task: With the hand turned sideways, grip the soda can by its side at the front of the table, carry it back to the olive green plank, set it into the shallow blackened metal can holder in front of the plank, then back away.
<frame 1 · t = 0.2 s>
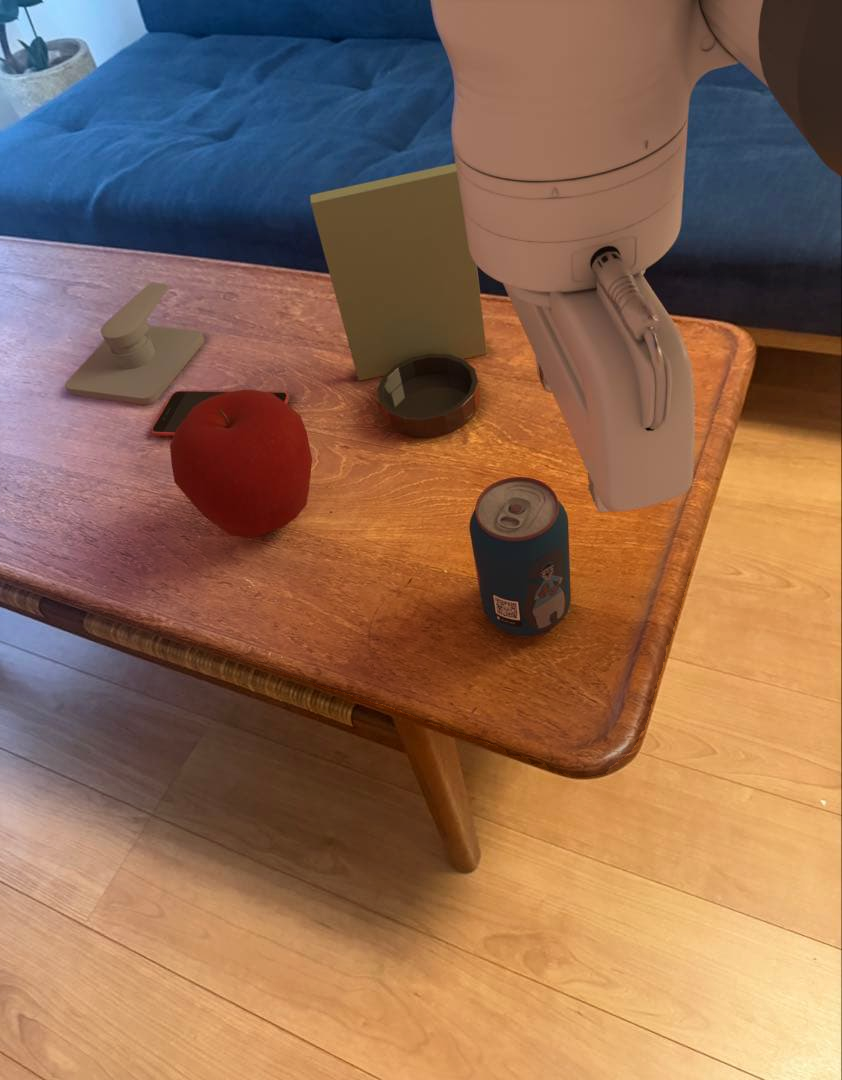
hand: (581, 437, 44), 23 cm above the table, tool pointing down, fingers open, 8 cm apart
soda can: (526, 609, 65), on the table
olive green plank: (421, 363, 88), on the table
apple: (269, 517, 76), on the table
holder: (430, 404, 83), on the table
smartphone: (222, 417, 87), on the table
shower valve: (144, 360, 97), on the table
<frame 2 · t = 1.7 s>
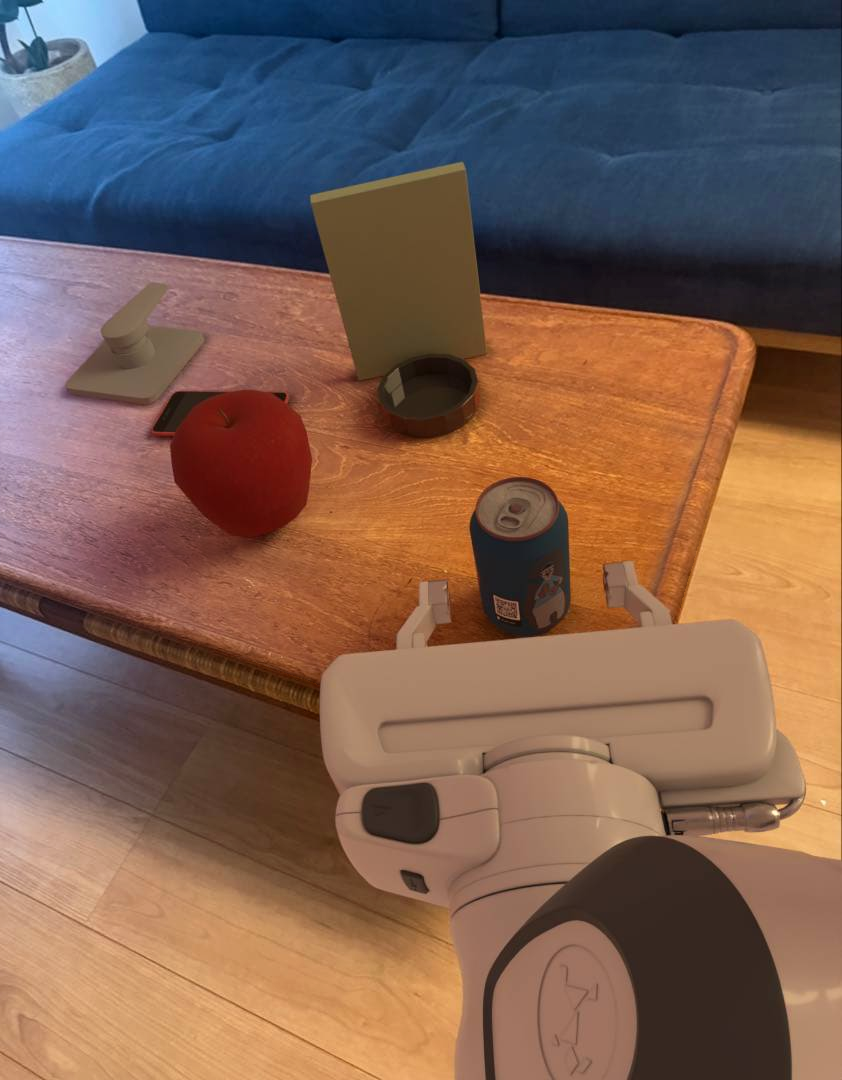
hand: (524, 578, 42), 20 cm above the table, tool horizontal, fingers open, 8 cm apart
nothing on the table moved.
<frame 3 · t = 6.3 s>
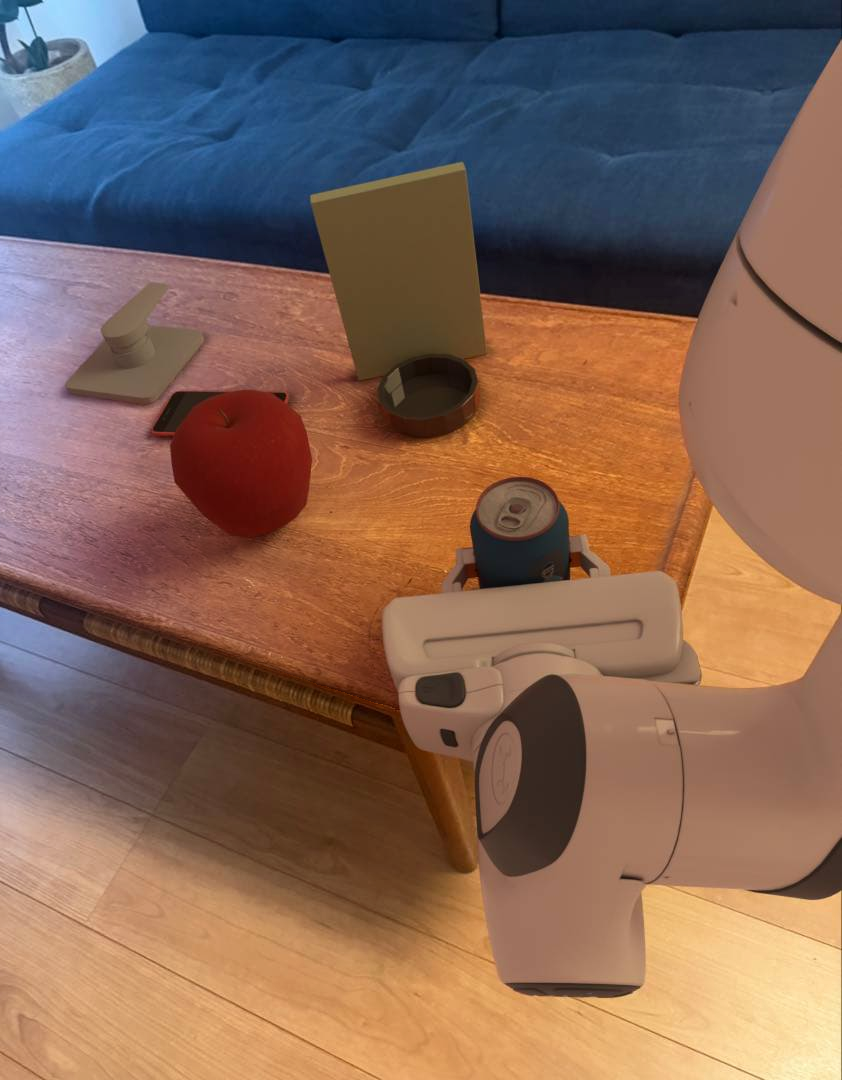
hand: (520, 546, 61), 7 cm above the table, tool horizontal, fingers closed on soda can, 7 cm apart
soda can: (527, 609, 65), on the table, touching gripper
everything else where it was.
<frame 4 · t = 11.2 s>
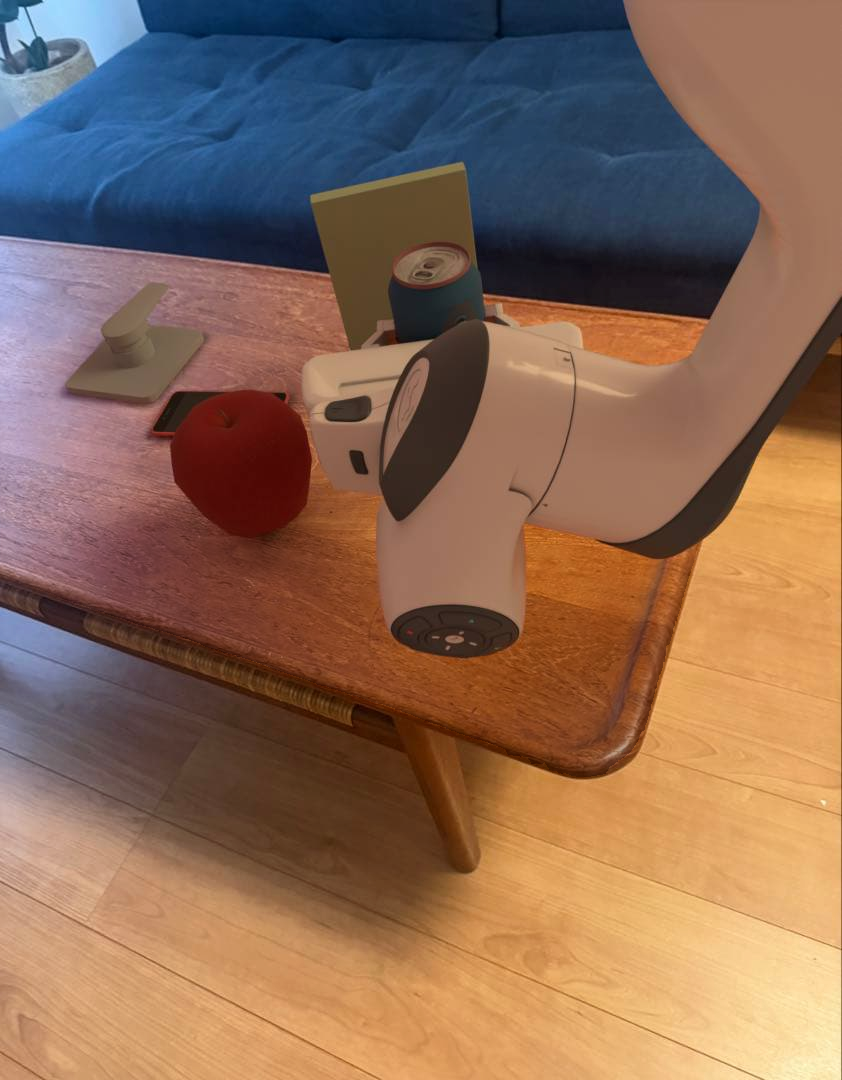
hand: (439, 319, 63), 17 cm above the table, tool horizontal, fingers closed on soda can, 7 cm apart
soda can: (451, 394, 68), point 10 cm above the table, touching gripper
everything else where it was.
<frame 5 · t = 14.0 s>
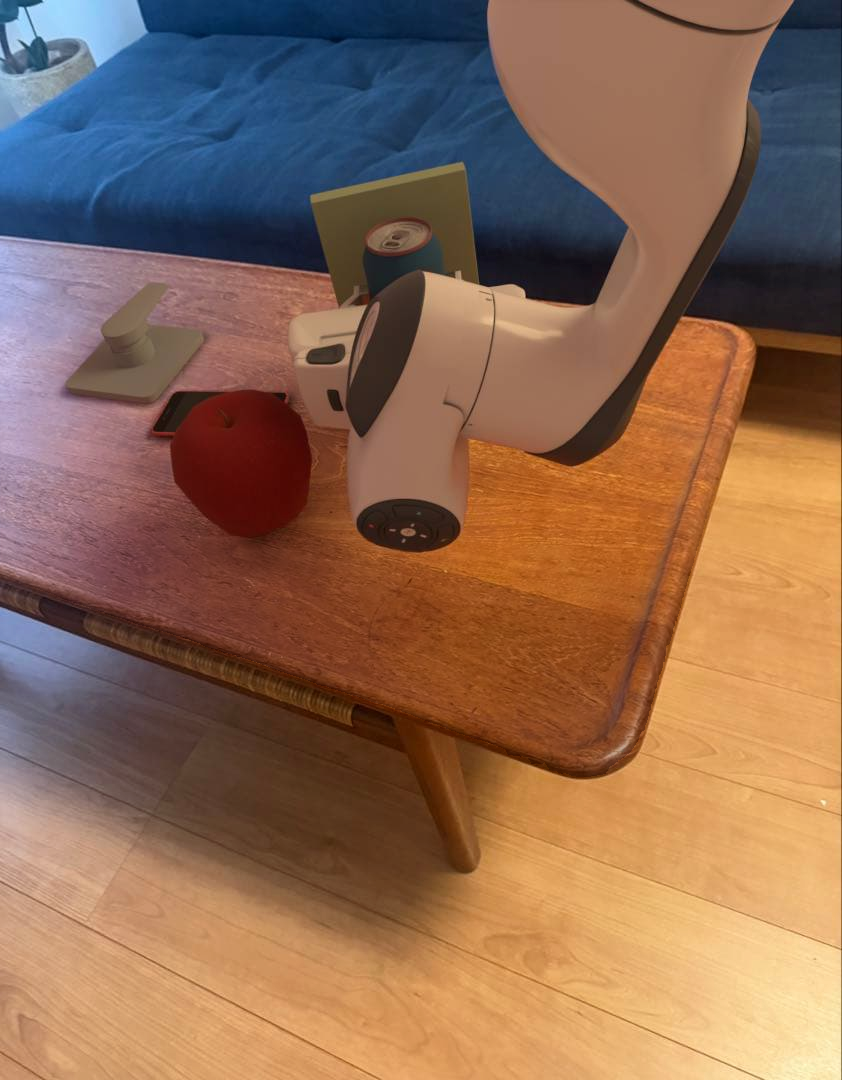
hand: (408, 285, 74), 13 cm above the table, tool horizontal, fingers closed on soda can, 7 cm apart
soda can: (419, 352, 78), point 7 cm above the table, touching gripper
everything else where it was.
when the fingers open (7 cm above the table, at t = 16.3 s): soda can stays where it is, resting on holder.
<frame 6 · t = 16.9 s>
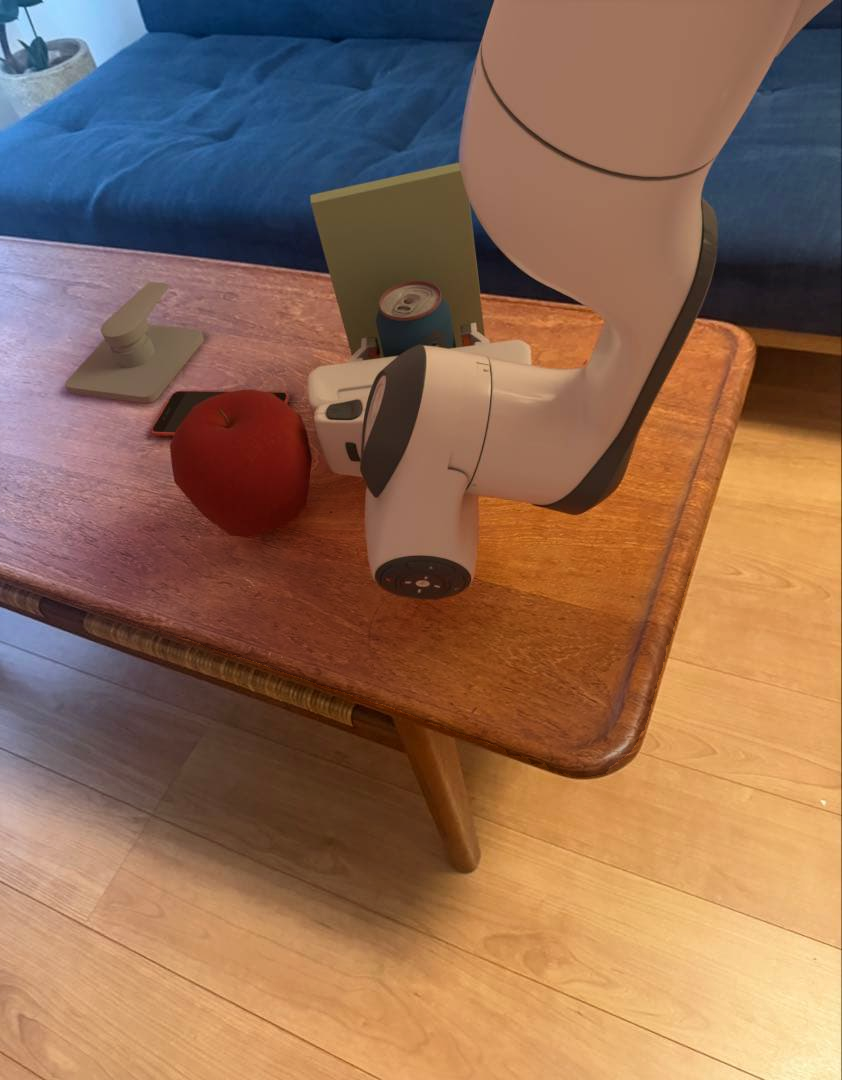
hand: (419, 336, 78), 8 cm above the table, tool horizontal, fingers open, 8 cm apart
soda can: (429, 402, 83), resting on holder
everything else where it was.
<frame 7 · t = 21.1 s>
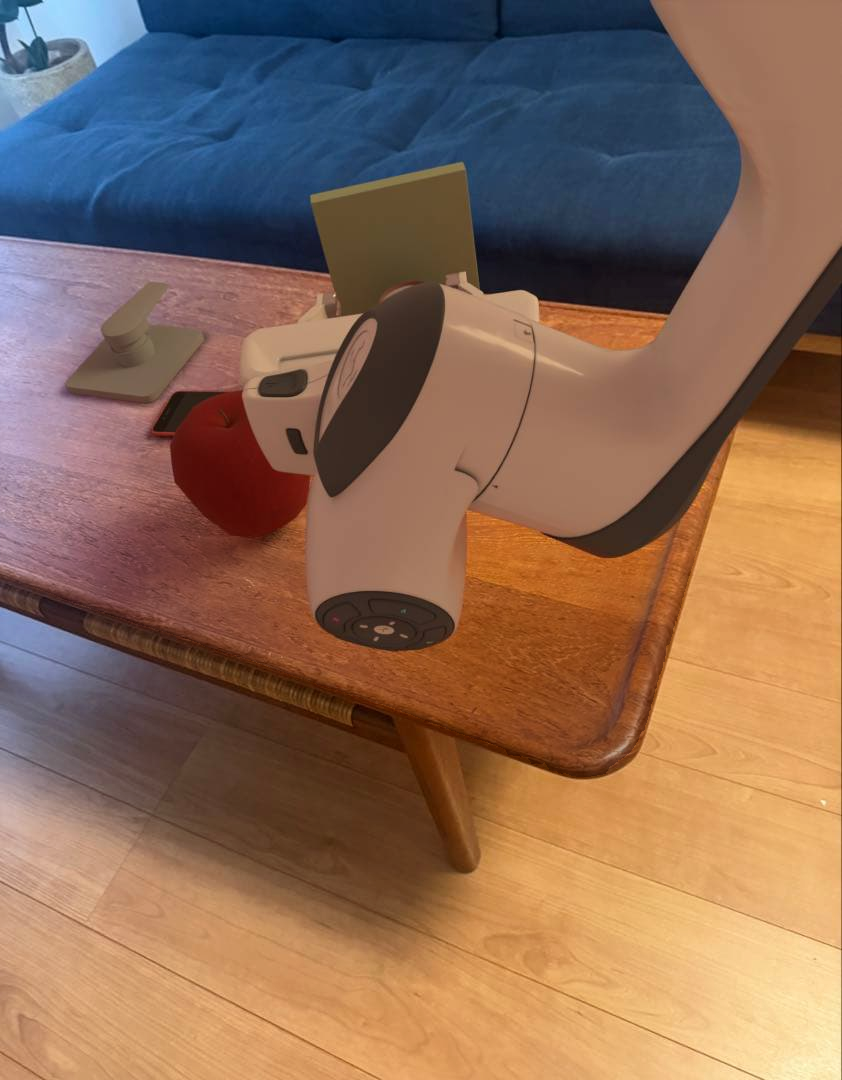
hand: (392, 291, 59), 21 cm above the table, tool horizontal, fingers open, 8 cm apart
nothing on the table moved.
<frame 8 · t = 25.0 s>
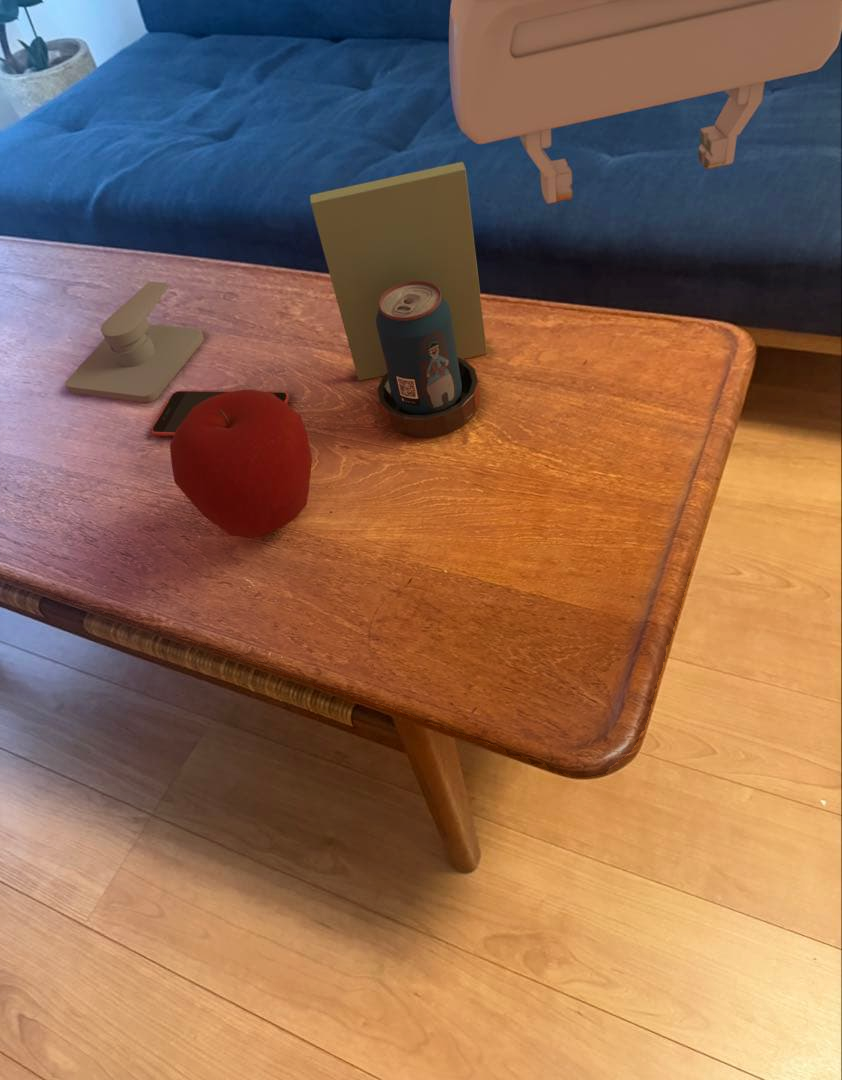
hand: (635, 180, 48), 29 cm above the table, tool pointing down, fingers open, 8 cm apart
nothing on the table moved.
at the end: soda can 0.1 cm off-centre in the holder, point 0.3 cm above the holder's base; soda can tilted 0°; the gripper is holding nothing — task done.
